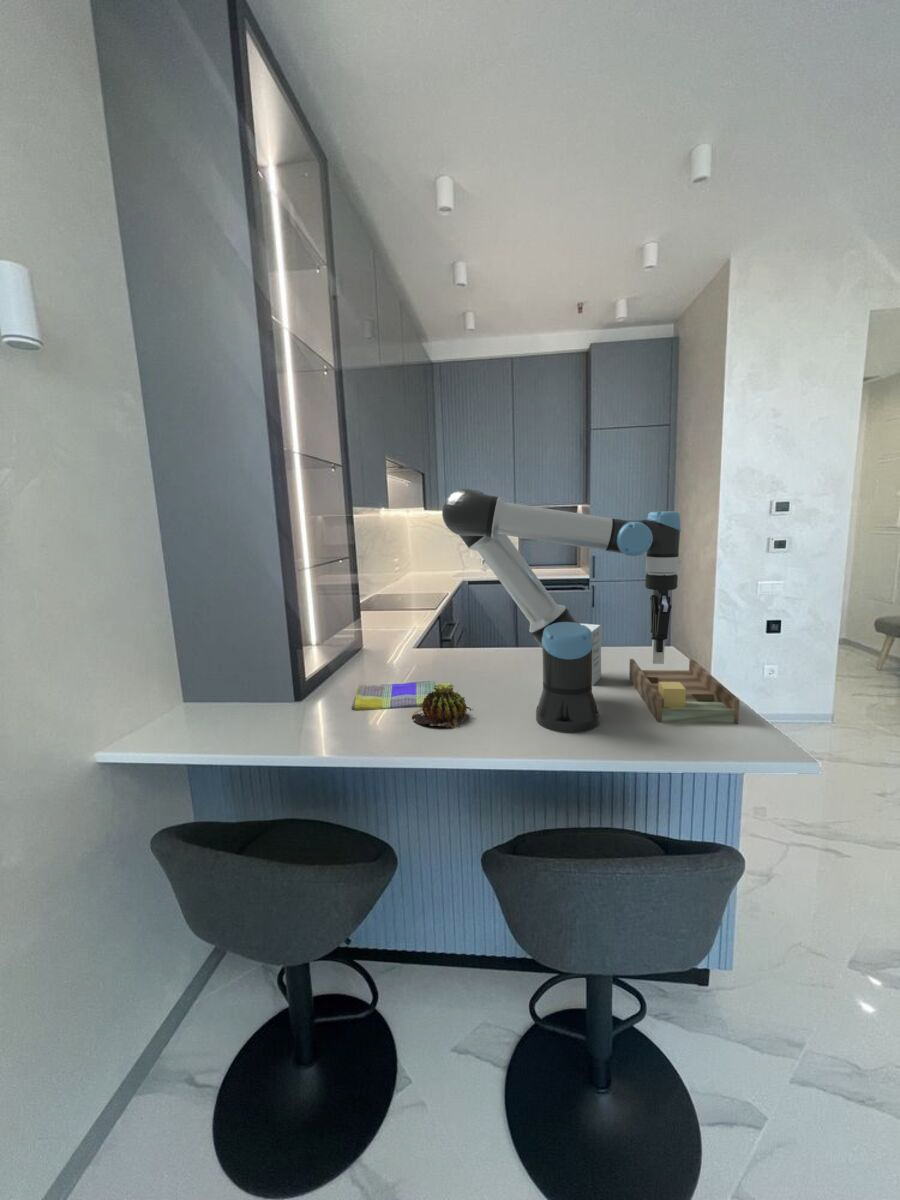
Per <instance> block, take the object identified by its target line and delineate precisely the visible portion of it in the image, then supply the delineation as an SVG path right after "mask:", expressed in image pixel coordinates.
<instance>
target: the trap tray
mask: <svg viewBox="0 0 900 1200" xmlns="http://www.w3.org/2000/svg"><path fill="white" fill-rule="evenodd" d="M688 662H689V663H688V670H686V669H685V670H675V669H674V670H673V669H671V670H670V669H669V670H667V669H665V670H663V669H658V670H657V669H655V670H654V669H641V667H640V666H639V664H637V662H636V660H635V659H634V658H629V675H628V676H629V677H628V678H629V681H630V682H631V684H632V685H633V687H634V688H635V690H636V691H637V693H638V695H639V696H640V698H641V700H642V701H643V702H644V704H645V706H646V707H647V708H648V710H649V712H650V713H651V715H652V716H653V717H654V719H655V721H656V722H657V723H674V724H675V723H677V724H678V723H679V724H681V723H682V724H725V725H726V724H727V725H728V724H729V725H730V724H732V725H734V724H735V725H738V724H739V715H740V699H739V698H738V697H737V696H736V695H735V694H734V693H732V692H731V691H730V690H729V689H728V688H726V687H725V686H724V685H723V684H722V683H721V682H720V681H719V680H718V679H716V678H715V677H714V676H713V675H712V674H711V673H710V672H708V671H707V670H706V669H705V668H703V666H701V665H700V664H699V663H698V662H697V661H696V660H695V659H694V658H693V659H692V658H689V661H688ZM659 682H680V683H681V684H682V685H683V686H684V687H685V689H686V698H685V708H678V707H662V703H663V699H662V697H661V696H660V695H659V693H658V685H659Z"/></svg>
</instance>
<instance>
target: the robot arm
mask: <svg viewBox="0 0 900 1200" xmlns="http://www.w3.org/2000/svg"><path fill="white" fill-rule="evenodd" d="M441 511H442V512H441V515H442V519H443V522H444V524H445V526H446V527H447V529H449V530H450V531H451V532H452V533H454V534H456V535H458V536H459V537H460V538H461V540H462V541H463V543H465V545H466V547H467V548H468V549H469V550H472V551H473V550H474V551H477V553H479V554H480V556H481V557H482V559H483V560H484V562H486V565H488V567H489V569H491V571H492V572H493V574H494V575H495V577H496V578H497V580H498V581H499V582H500V583H501V585H502V586H503V588H504V589H505V590H506V592H507V593H508V595H510V597H511V599H512V600H513V601H514V602H515V604H516V605H517V607H518V608H519V609H520V611H521V612H522V613H523V615H524V616H525V618H526V619H527V620H528V622H529V630H528V631H529V633H530V634H531V636H532V637H533V639H534V640H535V641H536V642H537V644H538V645H539V647H540V648H541V650H542V651H541V652H542V653H541V654H542V691H541V695H540V697H539V702H538V704H537V706H536V709H535V720H536V722H537V723H538V724H539V725H540V726H541V727H542V728H544V729H548V730H551V731H554V732H558V733H559V732H560V733H570V734H571V733H572V734H573V733H582V732H588V731H591V730H594V729H595V728H597V727H598V726H599V724H600V711H599V710H598V707H597V703H596V699H595V696H594V694H593V691H592V690H593V686H592V647H593V638H592V633H591V631H590V629H589V628H588V627H586V626H584V625H581V624H582V623H580V622H579V621H577V619H575V618H574V616H573V615H572V614H571V612H570V610H569V609H568V608H567V606H565V605H564V604H558V603H556V601H555V600H554V599H553V597H552V596H551V594H550V593H549V591H548V590H547V589H546V587H545V586H544V584H543V583H542V582H541V580H540V579H539V578H538V576H537V575H536V573H535V572H534V571H533V569H532V568H531V567H530V565H529V564H528V563H527V561H526V560H525V558H524V557H523V555H522V554H521V553H520V551H519V550H518V549H517V547H516V546H515V545H514V543H513V542H512V541H511V539H510V538H509V537H515V538H521V539H527V540H535V541H540V542H541V541H542V542H548V543H553V544H560V545H566V546H572V547H580V548H587V549H593V550H600V551H604V552H605V551H606V552H611V553H618V554H624V555H625V556H628V557H629V556H630V557H636V556H641V555H643V554H645V553H646V556H645V557H646V558H645V572H646V574H645V580H644V581H645V584H644V585H645V588H646V589H647V590H651V591H652V594H651V595H650V598H649V599H650V633H651V640H652V642H651V643H652V646H651V663H652V665H655V664H656V665H664V662H665V647H666V646H665V645H666V641H665V640H667V639H668V633H669V625H670V615H671V611H672V607H673V606H672V603H671V596H669V591H674V590H677V588H678V579H679V576H678V574H676V573H678V572H679V564H681V560H680V559H679V553H680V552H679V551H680V540H681V532H682V530H681V515H680V513H679V512H678V511H674V510H673V511H651V512H648V514H647V518H646V519H641V520H636V519H634V520H632V519H631V520H629V519H628V520H627V519H626V520H625V519H618V518H612V517H607V516H605V517H604V516H601V515H598V516H597V515H593V514H586V513H579V512H571V511H565V510H560V509H554V508H545V507H539V506H532V505H525V504H521V503H520V504H518V503H511V502H505V501H503V499H502V498H501V497H500V496H495V495H494V496H493V495H489V494H486V493H484V492H482V491H480V490H478V489H472V488H465V487H464V488H460V489H456V490H454V491H453V492H451V493H449V495H448V496H447V497H446V499H445V501H444V503H443V505H442V510H441Z"/></svg>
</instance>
